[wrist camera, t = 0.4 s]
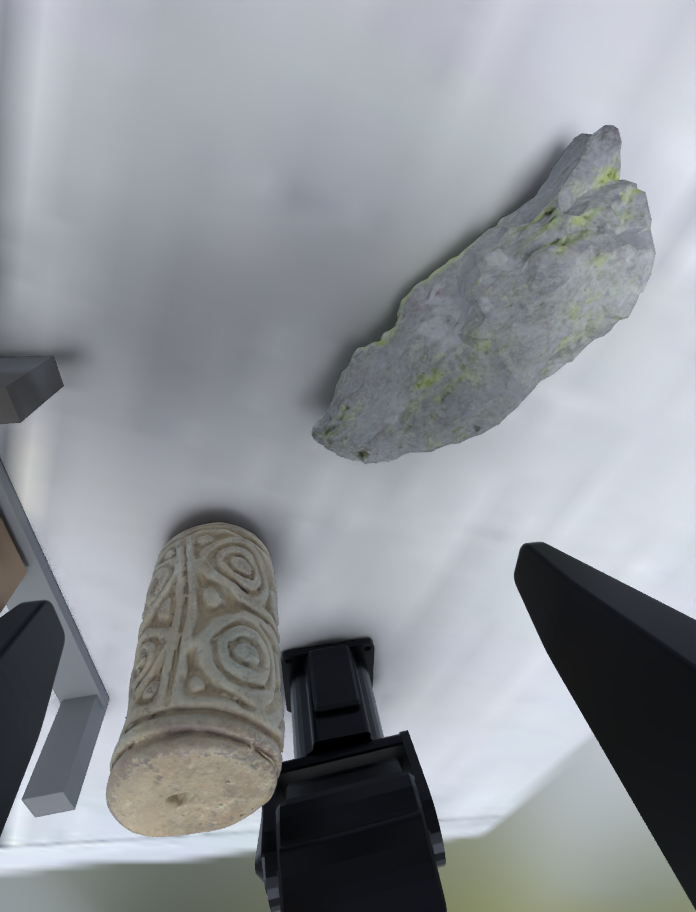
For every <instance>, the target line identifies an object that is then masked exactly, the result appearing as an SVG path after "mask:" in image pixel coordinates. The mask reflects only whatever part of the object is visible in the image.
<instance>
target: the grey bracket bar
mask: <svg viewBox="0 0 696 912" xmlns="http://www.w3.org/2000/svg"><path fill="white" fill-rule="evenodd" d="M0 517H1V519H2V521H3V523H4V525H5V527H6V529H7V531H8V533H9V535H10V537H11V539H12V541H13V543H14V545H15V548H16V550H17V552H18V554H19V556H20V558H21V560H22V562H23V564H24V566H25V568H26V570H27V573H26V575H25V576H24V578H23V579H22V581H21V582H20V584H19V585H18V587H17V588H16V590H15V592H14V593H13V595H12V596H11V598H10V599H9V601H8V602H7V604H6V605H7V607H8V609H9V611H10V610H11V609H13V608H14V607H15V606H17V605H18V604H20V603H22V602H26V601H35V600H49V601H50V602H51V603H52V604H53V606H54V608H55V611H56V613H57V615H58V618H59V620H60V622H61V625H62V627H63V629H64V633H65V643H64V648H63V651H62V655H61V659H60V662H59V666H58V670H57V673H56V677H55V681H54V684H53V690H54V692H55V694H56V696H57V697H58V699H59V701H60V703H61V705H60V707H59V710H58V712H57V715H56V717H55V720H54V722H53V725H52V727H51V729H50V732H49V734H48V737H47V739H46V742H45V744H44V746H43V749H42V751H41V754H40V756H39V759H38V761H37V763H36V766H35V768H34V771H33V773H32V776H31V778H30V781H29V783H28V785H27V788H26V790H25V793H24V795H23V798H22V801H23V802H24V804H25V805H26V806H27V808H28V809H29V810H30V811H31V813H32V814H33V815H34V817H40V816H45V815H50V814H55V813H60V812H65V811H70V810H75V807H76V804H77V801H78V798H79V795H80V791H81V788H82V785H83V782H84V779H85V776H86V772H87V769H88V766H89V763H90V760H91V756H92V753H93V750H94V747H95V744H96V740H97V737H98V734H99V731H100V728H101V724H102V721H103V718H104V715H105V712H106V709H107V705H108V701H109V697H108V695H107V693H106V691H105V688H104V686H103V684H102V682H101V680H100V677H99V675H98V673H97V671H96V669H95V666H94V664H93V662H92V660H91V658H90V656H89V653H88V651H87V649H86V647H85V645H84V642H83V640H82V638H81V636H80V634H79V631H78V629H77V627H76V625H75V623H74V620H73V618H72V616H71V614H70V612H69V609H68V607H67V605H66V603H65V601H64V599H63V596H62V594H61V592H60V590H59V588H58V585H57V583H56V581H55V579H54V577H53V574H52V572H51V570H50V568H49V566H48V563H47V561H46V559H45V557H44V555H43V552H42V550H41V548H40V546H39V544H38V542H37V539H36V537H35V535H34V533H33V531H32V528H31V526H30V524H29V522H28V520H27V517H26V515H25V513H24V511H23V509H22V506H21V504H20V502H19V500H18V498H17V495H16V493H15V491H14V489H13V487H12V484H11V482H10V480H9V478H8V476H7V474H6V471H5V469H4V467H3V465H2V463H1V460H0Z"/></svg>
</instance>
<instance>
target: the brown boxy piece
mask: <svg viewBox="0 0 696 912" xmlns="http://www.w3.org/2000/svg"><path fill="white" fill-rule="evenodd" d="M63 386H64V385H63V382H62V379H61V376H60V373H59V370H58V367H57V364H56V361H55V359H54V356H32V357H10V358H0V424H8V423H21V422H22V421H23V420H24V419H25V418H27V417H28V416H29V415H30V414H31V413H32V412H34V411H35V410H36V409H37V408H38V407H40V406H41V405H42V404H43V403H44V402H45V401H47V400H48V399H49V398H50V397H51V396H52V395H54V394H55V393H56V392H57V391H58V390H60V389H61V388H62V387H63ZM26 573H27V570H26V568H25V566H24V564H23V562H22V560H21V558H20V556H19V554H18V552H17V550H16V548H15V545H14V543H13V541H12V539H11V537H10V535H9V533H8V531H7V529H6V527H5V525H4V523H3V521H2V519H1V517H0V613H1V611H2V610H3V608H4V607H5V605H6V604H7V602H8V601H9V599H10V598H11V596H12V595H13V593H14V592H15V590H16V588H17V587H18V585H19V584H20V582H21V581H22V579H23V578H24V576H25V575H26Z"/></svg>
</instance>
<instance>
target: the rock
mask: <svg viewBox="0 0 696 912" xmlns="http://www.w3.org/2000/svg"><path fill="white" fill-rule="evenodd" d="M620 149H621V138H620V134H619V130H618V128H616V127H615V126H613V125H605V126H603V127H602V128H601V129H599V130H598V131H596V132H595V133H594V134H592V135H591V134H583V133H582V134H580V135H579V136H577V137H575V138H574V139H573V141H572V142H571V143H570V145H569V146H568V147H567V148H566V150H565V151H564V153H563V154H562V156H561V157H560V159H559V160H558V161H557V163H556V164H555V165H554V167H553V168H552V170H551V172H550V176H549V178H548V179H547V180H546V181H545V182H544V184H543V185H542V186H541V188H540V189H539V191H538V194H537V195H536V196H535V197H534V198H532V199H531V200H529V201H528V202H526V203H525V204H524V205H522V206H521V207H520V208H518V209H517V210H516V211H514V212H513V213H512V214H510V215H507V216H505V217H503V218H501V219H500V221H499V222H498V224H497V225H496V226H495V227H493V228H488V229H487V230H486V231H485V232H484V233H483V234H482V235H481V236H480V237H479V238H478V239H477V240H476V241H474V242H473V243H472V244H471V245H469V246H468V247H467V248H466V249H464V250H463V251H462V252H461V253H460V254H459V256H458V257H453V258H451V259H449V260H448V261H447V263H446V264H445V265H443V266H441V267H440V268H438V269H437V270H435V271H434V272H433V273H432V274H431V275H430V276H429V277H428V278H427V279H425V280H423V281H421V282H419V283H417V284H416V285H415V286H414V287H413V289H412V290H411V291H410V293H409V294H408V295H407V296H405V297H404V298H403V299H402V300H401V303H400V307H399V310H398V313H397V316H398V320H397V322H396V324H395V327H393V328H392V329H391V330H389V331H387V332H384V333H383V335H382V337H381V340H380V341H378V342H372V343H371V344H369V345H368V346H366V347H358V348H357V349H356V350H355V352H354V353H353V356H352V358H351V360H350V363H349V365H348V367H347V368H346V369H345V370H343V371H342V372H341V377H340V380H339V381H338V383H337V385H336V389H335V394H334V397H333V400H332V402H331V404H330V407H329V411H328V413H327V415H326V416H325V417H323V418H322V419H321V420H320V421H318V422H317V423H316V424H315V425H314V426H313V430H312V436H313V438H314V439H315V440H316V441H317V442H318V443H320V444H322V445H324V447H325V448H327V449H328V450H331V451H333V452H335V453H336V454H337V455H338V456H340V457H344V458H348V459H351V460H357V461H362V462H363V463H365V464H367V463H378V462H382V461H387V462H388V461H391V460H394V459H397V458H399V457H400V456H401V455H403V454H406V453H410V452H431V451H434V450H435V449H437V448H440V447H443V446H445V445H448V444H452V443H460V442H462V441H464V440H466V439H468V438H471V437H474V436H477V435H480V434H482V433H484V432H486V431H487V430H489V429H491V428H492V427H494V426H496V425H499V424H500V422H501V421H502V420H503V419H504V418H505V417H506V416H507V415H509V414H510V413H511V412H512V411H513V410H515V409H516V408H517V407H518V406H519V405H520V403H521V402H522V401H523V400H524V399H525V398H526V397H527V396H528V395H529V393H530V392H531V391H532V390H533V389H534V388H535V387H536V385H537V384H538V383H539V382H540V381H542V380H543V379H545V378H547V377H549V376H550V375H552V374H554V373H555V372H556V371H558V370H559V369H560V368H561V367H562V366H564V365H565V364H566V363H568V362H572V361H573V360H574V359H575V357H576V356H577V355H578V354H579V353H580V352H581V351H582V350H583V349H584V348H585V347H586V346H587V345H588V344H589V343H591V342H592V341H593V340H594V339H596V338H599V337H602V336H604V335H606V334H607V333H608V332H609V331H610V330H611V329H612V328H613V326H614V325H615V324H616V323H617V322H618V321H619V320H621V319H625V318H628V317H629V315H630V313H631V311H632V310H633V308H634V306H635V304H636V302H637V299H638V297H639V294H640V293H641V292H643V290H644V288H645V286H646V284H647V282H648V279H649V277H650V275H651V271H652V267H653V262H654V258H655V254H656V253H655V248H654V243H653V239H652V234H651V220H652V219H651V215H650V211H649V207H648V202H647V197H646V193H645V192H644V191H641V190H639V189H637V184H636V183H633V182H629V181H626V180H619V177H620V167H621V159H620Z"/></svg>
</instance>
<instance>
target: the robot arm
mask: <svg viewBox="0 0 696 912" xmlns="http://www.w3.org/2000/svg"><path fill="white" fill-rule="evenodd" d="M514 580H515V584H516V587H517V589H518V591H519V593H520V595H521V598H522V600H523V602H524V604H525V606H526V609H527V611H528V613H529V615H530V617H531V620H532V622H533V624H534V626H535V628H536V631H537V633H538V635H539V637H540V639H541V641H542V643H543V646H544V648H545V650H546V652H547V654H548V655H549V657H550V659H551V661H552V663H553V664H554V666H555V668H556V670H557V671H558V673H559V675H560V676H561V678H562V680H563V682H564V683H565V685H566V687H567V689H568V690H569V692H570V694H571V695H572V697H573V699H574V701H575V702H576V704H577V706H578V708H579V709H580V711H581V713H582V715H583V716H584V718H585V720H586V721H587V723H588V725H589V727H590V728H591V730H592V732H593V734H594V735H595V737H596V739H597V740H598V742H599V744H600V746H601V747H602V749H603V750H604V753H605V754H606V756H607V758H608V759H609V761H610V763H611V764H612V766H613V768H614V770H615V772H616V773H617V775H618V777H619V778H620V780H621V782H622V784H623V785H624V787H625V788H626V791H627V792H628V794H629V796H630V797H631V799H632V801H633V803H634V804H635V806H636V808H637V810H638V811H639V813H640V815H641V816H642V818H643V820H644V822H645V823H646V825H647V827H648V829H649V830H650V832H651V834H652V836H653V837H654V839H655V841H656V842H657V844H658V846H659V847H660V849H661V851H662V853H663V855H664V856H665V858H666V860H667V861H668V863H669V865H670V866H671V868H672V870H673V872H674V874H675V875H676V877H677V879H678V880H679V882H680V884H681V885H682V887H683V889H684V891H685V892H686V894H687V896H688V898H689V899H690V901H691V903H692V905H693V906H694V908H695V910H696V620H695V619H693V618H691V617H689V616H687V615H685V614H683V613H681V612H679V611H677V610H675V609H673V608H671V607H669V606H667V605H665V604H663V603H662V602H660V601H658V600H656V599H654V598H652V597H650V596H648V595H646V594H644V593H642V592H640V591H638V590H636V589H634V588H632V587H630V586H628V585H626V584H624V583H622V582H620V581H618V580H617V579H615V578H613V577H611V576H609V575H607V574H605V573H603V572H601V571H599V570H597V569H595V568H593V567H591V566H589V565H587V564H585V563H583V562H581V561H579V560H577V559H575V558H573V557H571V556H570V555H568V554H566V553H564V552H562V551H560V550H558V549H556V548H554V547H552V546H550V545H548V544H546V543H544V542H532V543H525V544H523V545H522V546H521V548H520V551H519V555H518V559H517V563H516V567H515V571H514ZM64 643H65V633H64V629H63V627H62V625H61V622H60V620H59V618H58V615H57V613H56V611H55V608H54V606H53V604H52V603H51V602H50V601H49V600H35V601H26V602H22V603H20V604H18V605H17V606H15V607H14V608H13V609H11V610H10V611H9V612H7V613H6V614H5V615H3V616H2V617H1V618H0V836H1V834H2V831H3V828H4V826H5V823H6V821H7V818H8V816H9V813H10V810H11V808H12V805H13V803H14V800H15V797H16V795H17V792H18V790H19V787H20V784H21V782H22V779H23V777H24V774H25V772H26V769H27V766H28V764H29V761H30V759H31V756H32V753H33V751H34V748H35V745H36V743H37V740H38V737H39V734H40V731H41V728H42V724H43V721H44V717H45V714H46V710H47V706H48V703H49V699H50V695H51V692H52V688H53V684H54V681H55V677H56V673H57V670H58V666H59V662H60V659H61V655H62V651H63V648H64ZM281 664H282V672H283V681H284V689H285V698H286V706H287V711H289V712H292V727H293V742H294V758H295V759H292V760H288V761H284V762H282V767H281V772H280V775H279V777H278V779H277V785H276V788H275V791H274V793H273V795H272V797H271V799H270V800H269V801H268V802H267V803H265V804H264V805H263V806H262V817H261V824H260V831H259V838H258V845H257V851H256V858H255V870H256V875H257V876H258V877H259V878H260V879H261V880H262V881H263V882H264V884H265V889H266V893H267V895H268V901H269V906H270V909H271V912H447V908H446V902H445V898H444V894H443V889H442V885H441V882H440V877H439V873H438V869H437V868H439V867H442V866H445V864H446V859H445V851H444V845H443V840H442V835H441V830H440V826H439V822H438V818H437V814H436V810H435V807H434V803H433V800H432V797H431V794H430V791H429V788H428V785H427V782H426V780H425V777H424V774H423V771H422V768H421V766H420V763H419V760H418V757H417V754H416V752H415V749H414V746H413V743H412V740H411V738H410V735H409V732H408V730H406V731H402V732H399V734H397V735H393V736H389V737H384V735H383V731H382V727H381V723H380V719H379V715H378V710H377V706H376V702H375V698H374V694H373V689H372V687H373V666H374V644H373V641H372V640H371V639H362V640H356V641H350V642H343V643H337V644H330V645H324V646H318V647H311V648H305V649H299V650H292V651H287V652H284V653H283V654H282V655H281Z"/></svg>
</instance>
